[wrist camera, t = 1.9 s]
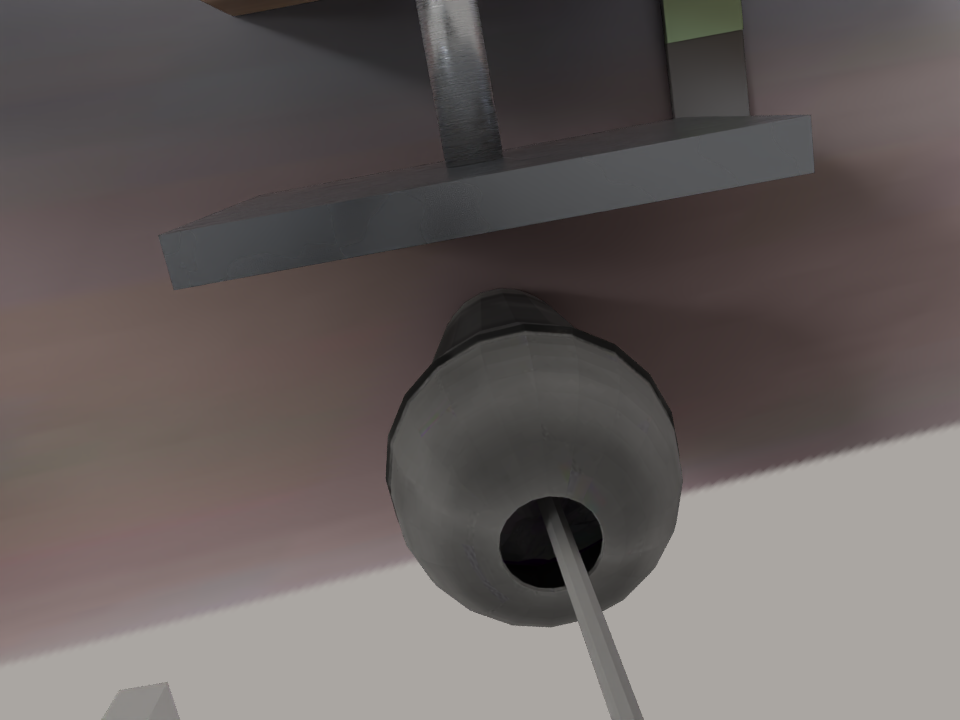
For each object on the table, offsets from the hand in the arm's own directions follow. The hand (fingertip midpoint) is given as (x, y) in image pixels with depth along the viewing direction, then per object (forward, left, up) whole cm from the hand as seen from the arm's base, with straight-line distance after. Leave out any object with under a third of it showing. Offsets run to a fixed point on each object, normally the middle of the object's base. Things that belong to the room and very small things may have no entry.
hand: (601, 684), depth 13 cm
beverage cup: (0, 0, -20) cm, 20 cm away
